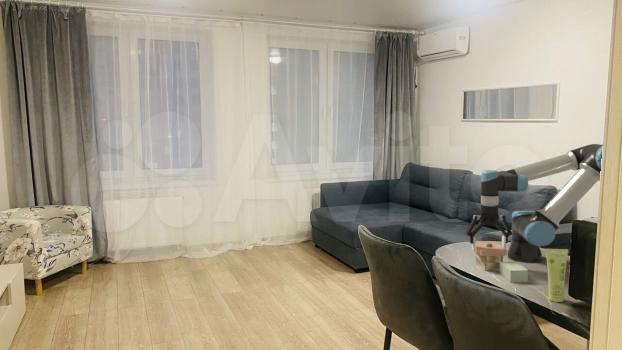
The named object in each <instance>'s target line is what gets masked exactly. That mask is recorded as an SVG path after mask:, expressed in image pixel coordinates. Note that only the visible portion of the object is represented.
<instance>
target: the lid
mask: <svg viewBox="0 0 622 350" xmlns="http://www.w3.org/2000/svg"><path fill="white" fill-rule="evenodd" d="M476 251H477V252H478V253H479V254H480V255H481V256H503V257H504V256H507V257H508V249H507V248H506V249H505V248H503V247H502V244H499V243H498V242H497V241H495V242H493V241H492V242H475V251H474V252H476Z"/></svg>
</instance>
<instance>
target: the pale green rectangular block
mask: <svg viewBox="0 0 622 350" xmlns="http://www.w3.org/2000/svg"><path fill="white" fill-rule="evenodd" d="M528 273H529V270H528V269H527V268H526V267H525V266H523V265H522V264H520V263H519V262H518V261H516V260H513V261H503V262H500V271H499V274H500V275H502V276H503V278H505V280H507V281H508V282H509V283H528V282H529V279H528V277H529V276H528V275H529V274H528Z"/></svg>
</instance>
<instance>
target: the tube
mask: <svg viewBox="0 0 622 350" xmlns="http://www.w3.org/2000/svg"><path fill="white" fill-rule="evenodd" d="M544 250H545V256H546V264H547V281H548V283H547V284H548V287H547V288H548V300H549V301H551V302H555V303H562V302H564V299H565V285H566V284H565V283H566V282H565V280H566V272H567V271H566V270H567V261H568V254H569V249H568V248H566V249H564V248H545V249H544Z"/></svg>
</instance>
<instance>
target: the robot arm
mask: <svg viewBox="0 0 622 350" xmlns="http://www.w3.org/2000/svg"><path fill="white" fill-rule="evenodd" d="M603 145H604V144H600V143H597V144H596V143H592V144H587V145H584V146H580V147H578V148H574V149H570V150H568V151H567V152H566V153H565V154H561V155H558V156H557V155H556V156H554V157H550V158H547V159H544V160H540V161H537V162H532V163H530V164H525V165H522V166H519V167H515V168H513V169H512V168H511V169H508V170H492V169H491V170H490V169H488V170H487V169H486V170H482V172H481V175H480V176H481V177H480V214H479V215H476V214H472V215H473V216H472V220H471V222H470V224H469V226H468V228H467V230H465V231H466V232H465V235H467V236H469V243H470V244H471V251H472V252H476V251H475V243H476V236H475V235H476V234H477V233H478V232H479V231H480V230H481V229H482V228H483V227H484V226H489V225H490V226H494V225H495V227H497V229H498V230H499V231H500V232H501V233H502V234H503V235H501V246H502V247H503V248H505V249H506V250H507V258H508V259H510V260H512V261H516V262H523V263H538V262H540V261H542V259H543V254H542V250H541V248H540V247H545V246H548V245H550V244H551V243H552V242H553V241H554V240H555V239H556V232H557V230H559V229H560V222H561V220H563V218H564V217H565V216H567V214H568V213H569V212H570V211H571V210H572V209H573V208H574V207H576V205H577V204H578V203H579V202H580V200H582V198H583V197H584V196H585V195H586V194H587V193H588V192H589V191H590V190H591V188H593V187H594V185H596V184H597V183H598V182H600V171H601V159H602V146H603ZM570 170H572V171H574V172H575V171H576V173H575V174H573V176H572V177H570V179H569V180H568V181H567V182H566V183H565V184H564V185H563V187H562V188H561V189H560V190H559V191H558V192H557V193H556V194H555V195H554V196H553V197H552V199H550V201H549V202H548V203H547V204H546V205H545V206H544V207H543V208H542V209H536V210H514V211H513V212H512V213H511V228H510V226H509V224H508V222H507V218H506V215H504V214H501V215H500V214H499V202H500V201H499V200H500V199H499V195H500V193H501V192H502V193H503V192H507V193H508V192H510V193H511V192H512V193H513V192H518V193H520V192H526V191H527V190H528V187H529V182H530V181H534V180H538V179H542V178H545V177H549V176H552V175H556V174H560V173H563V172H566V171H570ZM479 220H480V221H479ZM498 220H500V221H501V222H502V225H503V226H504V227H502V226H501V224H500V223H499V222H498ZM478 221H479V222H478ZM477 222H478V223H477ZM476 224H477V225H476ZM504 228H505V229H504ZM510 236H511V241H510V244H509V247H508V249H507V248H506V246H507V245H506V244H508V243H509V241H508V240H509V237H510Z"/></svg>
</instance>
